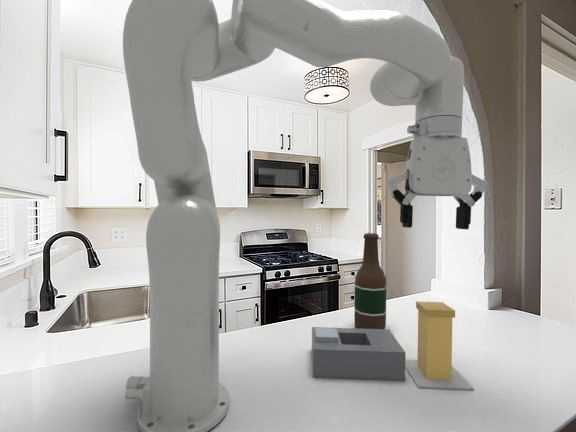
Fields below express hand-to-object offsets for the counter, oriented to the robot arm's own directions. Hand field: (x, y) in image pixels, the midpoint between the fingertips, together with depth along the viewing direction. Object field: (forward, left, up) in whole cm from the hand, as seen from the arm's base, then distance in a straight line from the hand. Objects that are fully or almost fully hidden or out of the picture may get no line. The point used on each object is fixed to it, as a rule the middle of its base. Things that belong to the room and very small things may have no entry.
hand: (434, 228), depth 53 cm
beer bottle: (-7, +21, -27) cm, 34 cm away
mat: (0, 0, -27) cm, 27 cm away
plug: (0, 0, -26) cm, 26 cm away
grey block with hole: (-14, +3, -27) cm, 30 cm away
